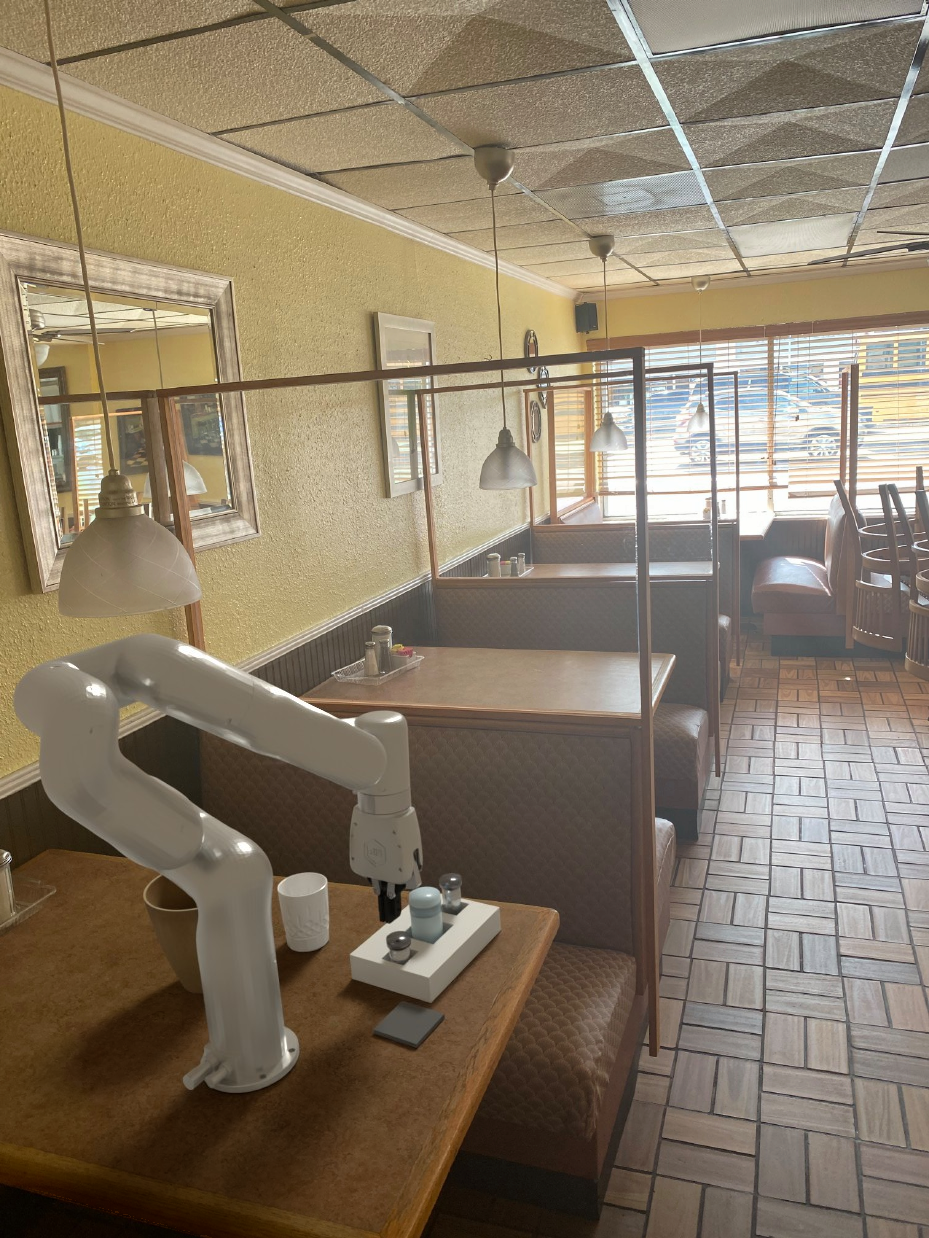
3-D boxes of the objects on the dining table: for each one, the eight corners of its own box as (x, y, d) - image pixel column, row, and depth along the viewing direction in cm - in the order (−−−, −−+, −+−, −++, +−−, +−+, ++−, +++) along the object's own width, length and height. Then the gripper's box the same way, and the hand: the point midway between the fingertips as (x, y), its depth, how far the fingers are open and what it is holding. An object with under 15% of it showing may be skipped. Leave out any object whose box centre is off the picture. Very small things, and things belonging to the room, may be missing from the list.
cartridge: (434, 965, 139) (429, 905, 137) (407, 957, 142) (402, 898, 140) (450, 949, 143) (446, 890, 141) (424, 941, 146) (419, 884, 144)
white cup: (338, 927, 152) (332, 871, 150) (326, 954, 144) (320, 896, 142) (291, 927, 153) (285, 872, 151) (277, 954, 145) (270, 896, 143)
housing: (431, 1002, 130) (428, 977, 129) (352, 978, 137) (349, 954, 136) (500, 929, 148) (499, 907, 147) (427, 911, 155) (426, 889, 154)
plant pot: (136, 996, 136) (120, 898, 133) (206, 944, 149) (194, 853, 146) (211, 1020, 129) (197, 917, 126) (278, 964, 142) (267, 869, 139)
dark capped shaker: (456, 920, 146) (454, 885, 144) (437, 915, 147) (434, 881, 146) (468, 909, 149) (465, 875, 147) (449, 905, 150) (446, 871, 149)
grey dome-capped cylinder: (404, 983, 134) (401, 946, 132) (384, 977, 135) (381, 940, 134) (418, 970, 137) (415, 934, 135) (398, 964, 138) (395, 928, 137)
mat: (416, 1047, 121) (416, 1043, 121) (373, 1033, 124) (373, 1029, 124) (444, 1017, 127) (444, 1013, 126) (402, 1004, 130) (402, 1000, 130)
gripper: (326, 799, 131) (333, 918, 134) (413, 816, 123) (419, 943, 126) (358, 782, 137) (364, 896, 140) (443, 798, 130) (447, 918, 133)
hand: (390, 918), depth 133 cm, fingers closed
